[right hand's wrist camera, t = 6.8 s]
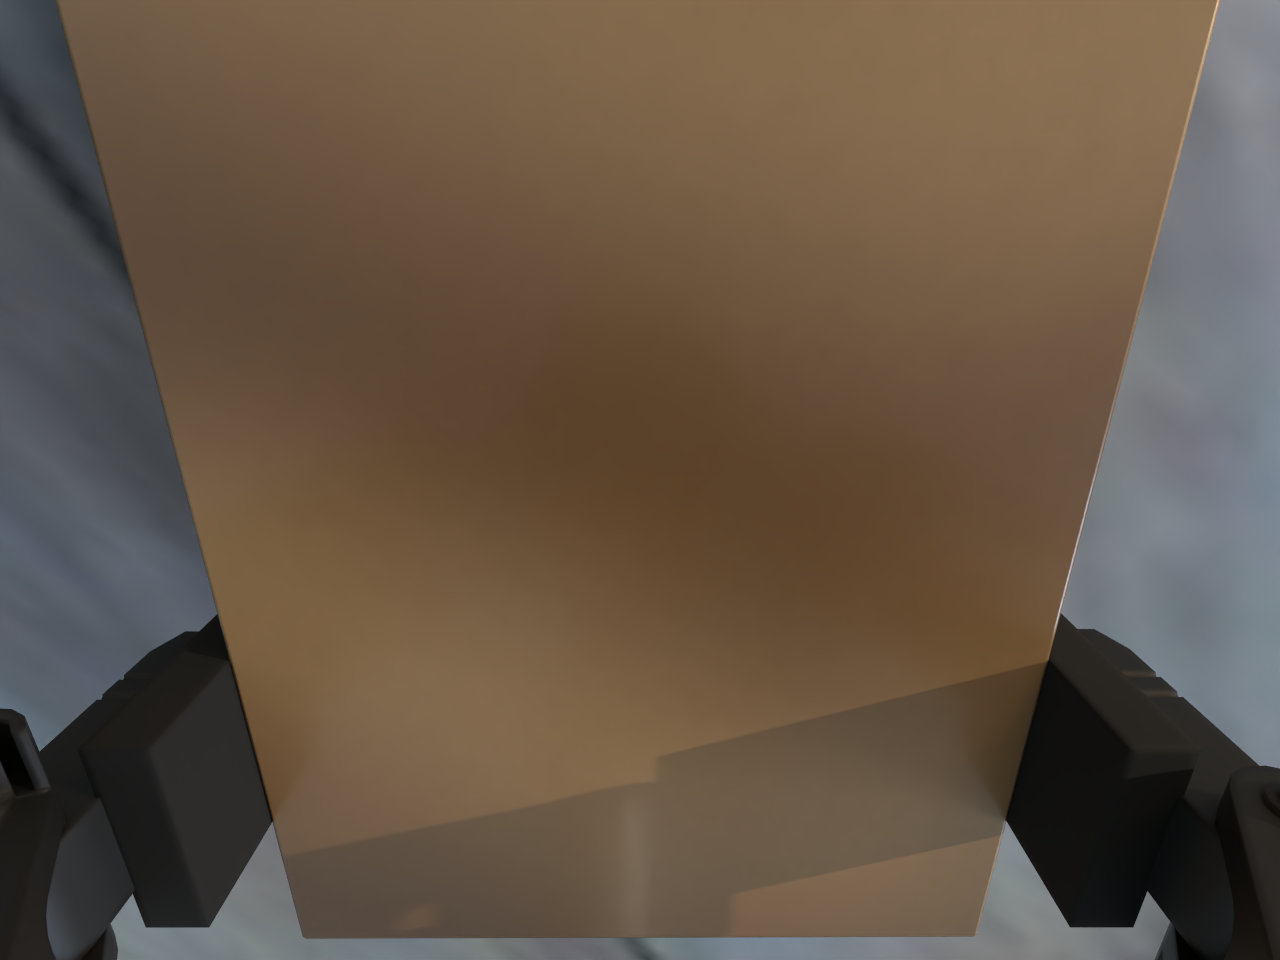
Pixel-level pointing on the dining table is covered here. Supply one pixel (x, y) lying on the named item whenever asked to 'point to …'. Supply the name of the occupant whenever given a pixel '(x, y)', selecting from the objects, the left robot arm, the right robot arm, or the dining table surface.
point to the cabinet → (638, 426)
